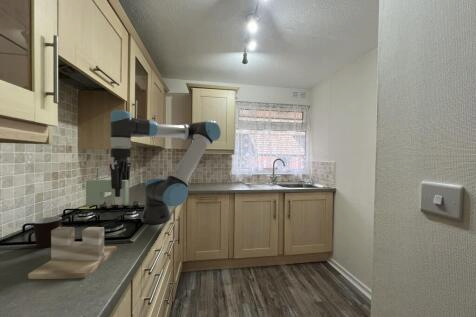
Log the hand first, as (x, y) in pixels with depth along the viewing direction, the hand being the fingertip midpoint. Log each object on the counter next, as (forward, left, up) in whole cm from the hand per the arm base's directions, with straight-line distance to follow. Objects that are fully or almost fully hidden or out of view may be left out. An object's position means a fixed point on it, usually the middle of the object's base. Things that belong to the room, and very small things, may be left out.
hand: (120, 203), depth 90 cm
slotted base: (+19, -5, -16) cm, 25 cm away
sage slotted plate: (0, -5, 0) cm, 5 cm away
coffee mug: (+3, -26, -16) cm, 30 cm away
